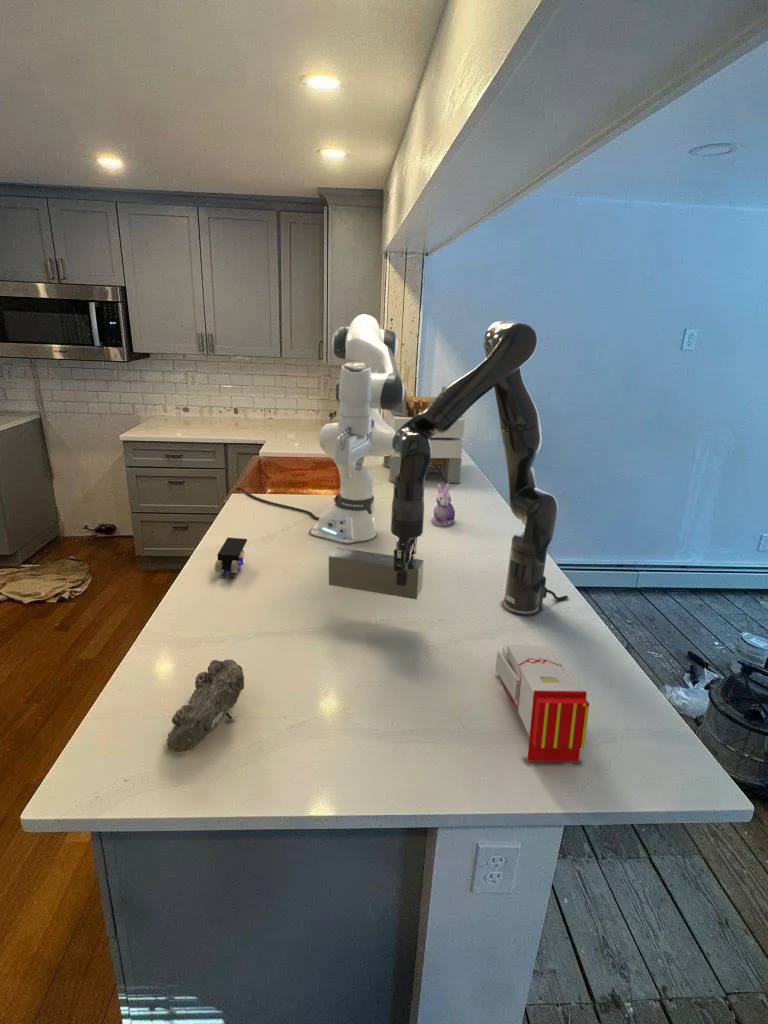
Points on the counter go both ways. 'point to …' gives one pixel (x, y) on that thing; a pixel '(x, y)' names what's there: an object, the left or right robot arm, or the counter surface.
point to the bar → (373, 573)
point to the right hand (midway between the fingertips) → (404, 578)
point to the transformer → (442, 445)
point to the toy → (545, 701)
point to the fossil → (206, 705)
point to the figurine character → (230, 556)
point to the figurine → (443, 507)
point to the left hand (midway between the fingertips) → (353, 474)
